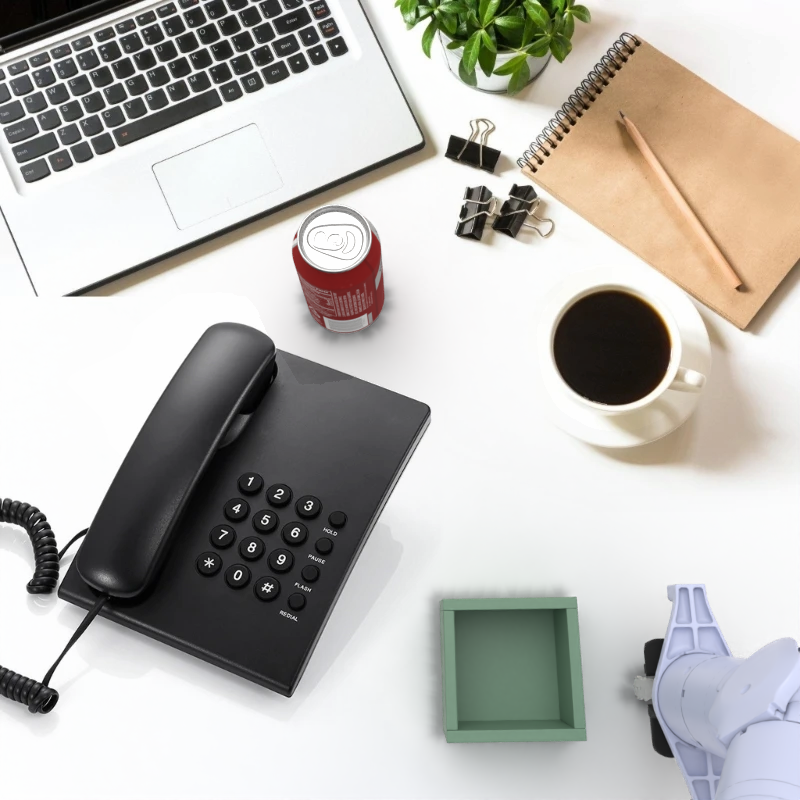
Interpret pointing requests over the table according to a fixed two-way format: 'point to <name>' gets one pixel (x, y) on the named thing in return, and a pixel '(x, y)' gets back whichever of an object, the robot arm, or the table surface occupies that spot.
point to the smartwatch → (643, 688)
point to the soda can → (340, 268)
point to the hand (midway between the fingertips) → (659, 688)
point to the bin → (511, 670)
